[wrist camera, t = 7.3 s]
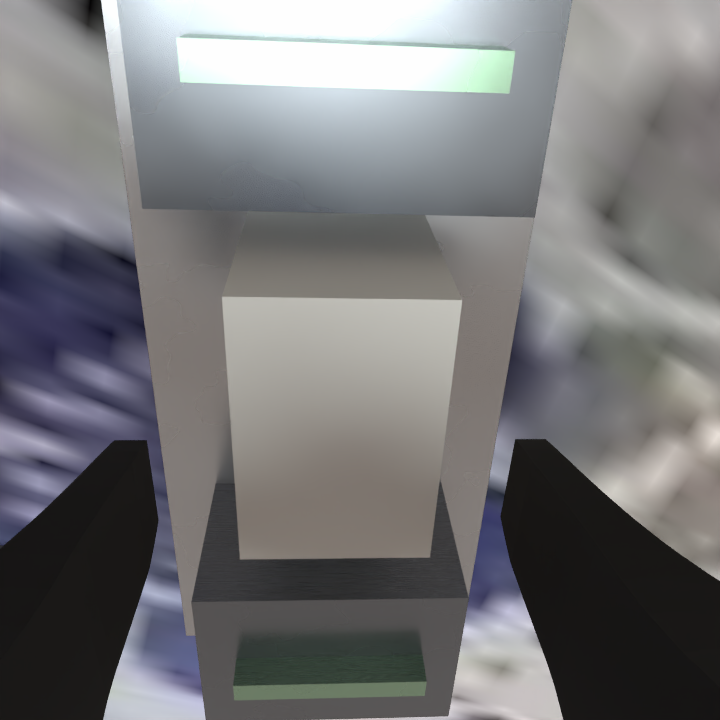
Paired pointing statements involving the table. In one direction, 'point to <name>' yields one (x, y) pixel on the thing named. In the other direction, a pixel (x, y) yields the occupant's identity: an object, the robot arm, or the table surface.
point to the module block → (338, 383)
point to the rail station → (327, 195)
